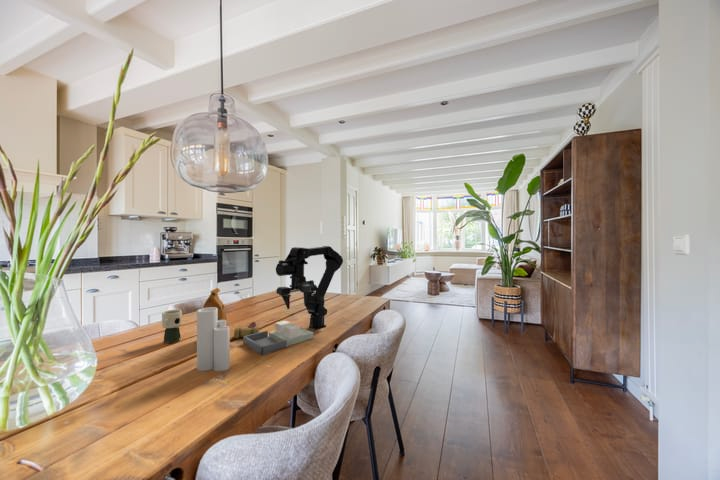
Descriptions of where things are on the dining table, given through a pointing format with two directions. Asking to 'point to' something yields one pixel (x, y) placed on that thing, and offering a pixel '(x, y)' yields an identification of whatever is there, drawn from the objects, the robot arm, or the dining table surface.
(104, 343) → the dining table surface
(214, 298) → the coffee package
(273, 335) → the board
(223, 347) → the vase
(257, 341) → the tray
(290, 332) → the light grey block
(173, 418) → the dining table surface
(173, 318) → the character mug
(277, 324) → the white square block
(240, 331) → the gavel
